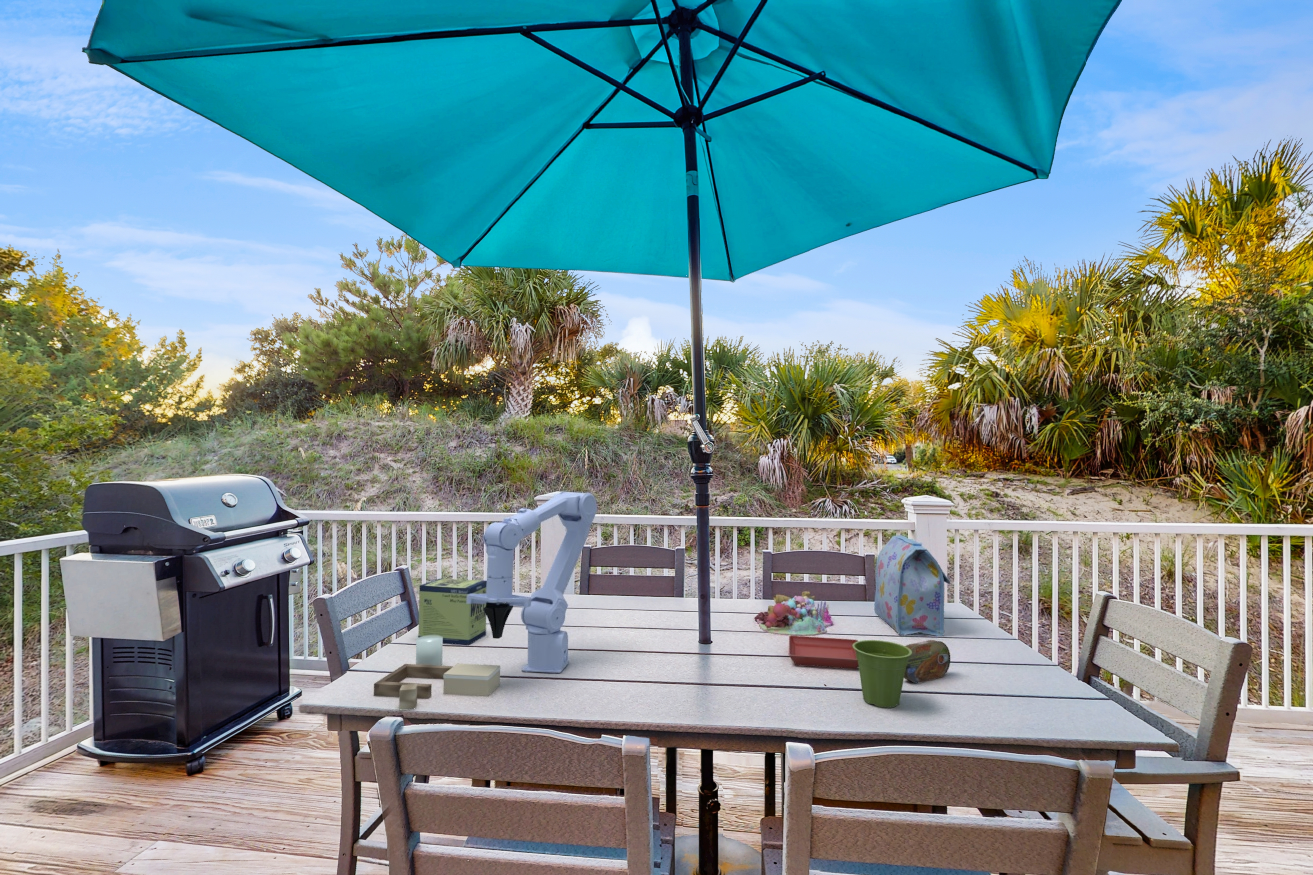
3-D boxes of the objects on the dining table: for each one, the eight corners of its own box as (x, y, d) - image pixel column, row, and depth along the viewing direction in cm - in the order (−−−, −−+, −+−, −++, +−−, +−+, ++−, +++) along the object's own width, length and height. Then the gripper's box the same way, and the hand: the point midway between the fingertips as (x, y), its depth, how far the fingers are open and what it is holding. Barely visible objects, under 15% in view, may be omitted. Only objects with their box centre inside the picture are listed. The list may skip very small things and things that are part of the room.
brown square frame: (454, 677, 148) (454, 666, 148) (428, 698, 135) (428, 686, 135) (404, 674, 150) (405, 663, 150) (373, 695, 137) (373, 683, 137)
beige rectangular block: (500, 685, 144) (500, 665, 144) (488, 697, 137) (488, 676, 137) (457, 683, 145) (457, 663, 145) (443, 695, 138) (443, 673, 138)
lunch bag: (955, 637, 182) (955, 544, 183) (896, 637, 183) (896, 543, 183) (923, 617, 205) (923, 534, 206) (871, 616, 205) (870, 533, 206)
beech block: (417, 703, 133) (417, 683, 133) (414, 708, 130) (415, 688, 130) (401, 704, 132) (401, 684, 132) (399, 710, 129) (399, 690, 129)
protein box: (469, 645, 172) (470, 587, 173) (417, 641, 176) (418, 584, 176) (487, 634, 183) (488, 580, 183) (437, 631, 186) (438, 577, 186)
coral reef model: (746, 615, 207) (746, 587, 207) (817, 614, 209) (817, 585, 210) (768, 638, 182) (768, 605, 182) (848, 636, 185) (848, 603, 185)
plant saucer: (788, 646, 174) (788, 634, 175) (857, 651, 171) (857, 638, 171) (788, 668, 157) (788, 654, 157) (865, 673, 153) (865, 659, 153)
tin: (906, 685, 144) (906, 648, 145) (895, 681, 147) (895, 644, 147) (951, 675, 151) (951, 639, 152) (940, 671, 154) (940, 636, 154)
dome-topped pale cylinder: (446, 664, 157) (446, 635, 158) (435, 672, 151) (435, 642, 152) (423, 662, 158) (423, 634, 158) (411, 671, 152) (411, 641, 152)
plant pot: (880, 716, 127) (880, 659, 127) (840, 695, 138) (840, 643, 138) (925, 707, 132) (924, 652, 132) (883, 688, 143) (883, 637, 143)
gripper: (461, 577, 142) (458, 639, 141) (524, 580, 140) (522, 644, 139) (475, 572, 149) (472, 631, 148) (535, 575, 147) (533, 636, 146)
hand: (497, 637), depth 144 cm, fingers closed
